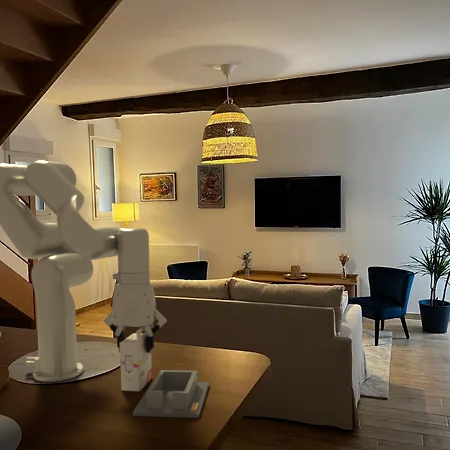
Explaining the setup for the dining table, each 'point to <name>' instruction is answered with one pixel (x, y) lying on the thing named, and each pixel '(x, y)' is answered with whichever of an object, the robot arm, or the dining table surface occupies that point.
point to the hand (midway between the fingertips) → (135, 350)
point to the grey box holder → (173, 395)
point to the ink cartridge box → (135, 362)
